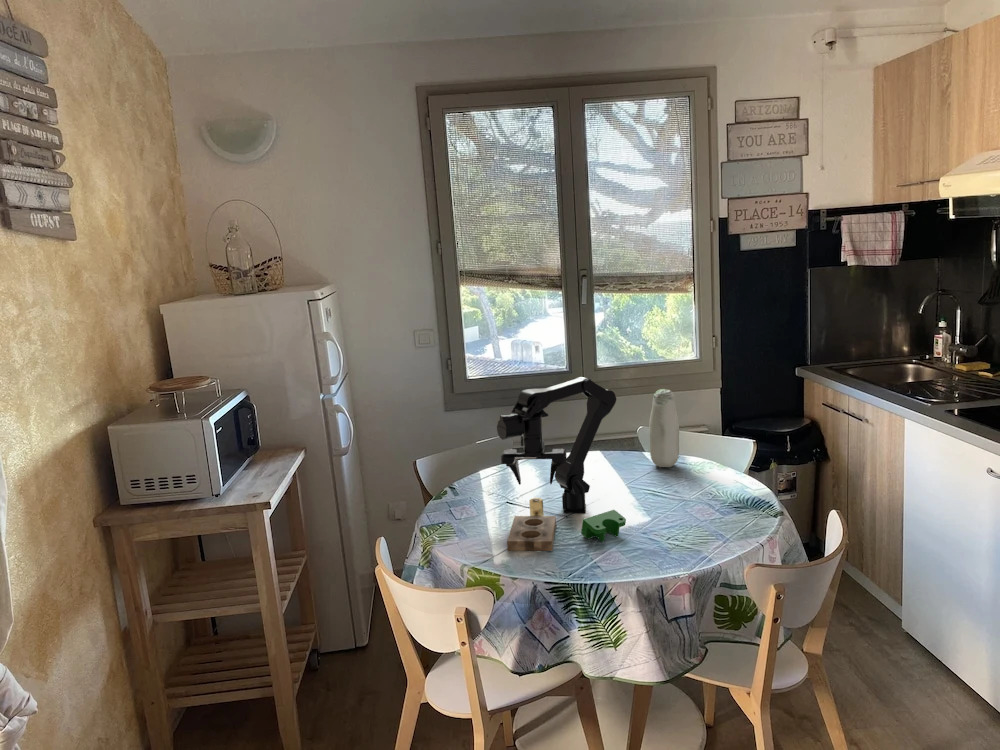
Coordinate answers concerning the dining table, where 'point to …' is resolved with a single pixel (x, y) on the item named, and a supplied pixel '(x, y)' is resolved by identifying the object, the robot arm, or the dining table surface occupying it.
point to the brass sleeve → (536, 507)
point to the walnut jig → (532, 533)
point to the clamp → (602, 525)
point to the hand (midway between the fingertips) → (535, 484)
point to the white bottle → (664, 429)
